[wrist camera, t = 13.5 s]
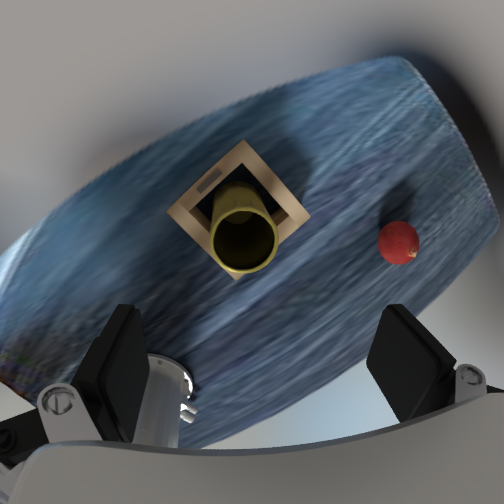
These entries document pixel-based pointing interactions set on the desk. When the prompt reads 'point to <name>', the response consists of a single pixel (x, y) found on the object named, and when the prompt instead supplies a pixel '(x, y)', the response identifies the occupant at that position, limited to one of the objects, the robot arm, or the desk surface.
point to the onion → (398, 242)
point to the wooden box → (184, 207)
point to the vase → (241, 229)
